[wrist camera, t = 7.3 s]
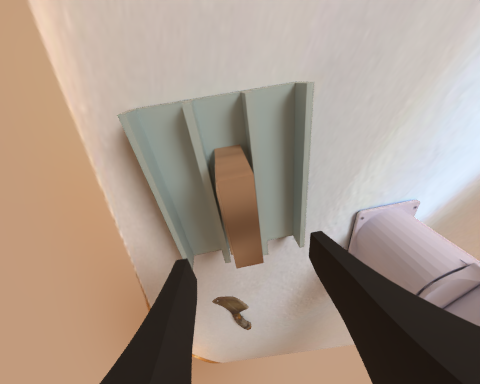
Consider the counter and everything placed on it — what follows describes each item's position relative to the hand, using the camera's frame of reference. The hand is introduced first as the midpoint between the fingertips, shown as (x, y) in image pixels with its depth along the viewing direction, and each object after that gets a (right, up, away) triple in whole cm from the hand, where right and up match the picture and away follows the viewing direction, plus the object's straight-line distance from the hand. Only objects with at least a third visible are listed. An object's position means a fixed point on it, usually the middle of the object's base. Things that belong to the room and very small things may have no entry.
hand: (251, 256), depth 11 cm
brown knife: (-2, -16, +21) cm, 26 cm away
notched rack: (-1, +5, +8) cm, 9 cm away
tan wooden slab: (-1, +4, +7) cm, 8 cm away
